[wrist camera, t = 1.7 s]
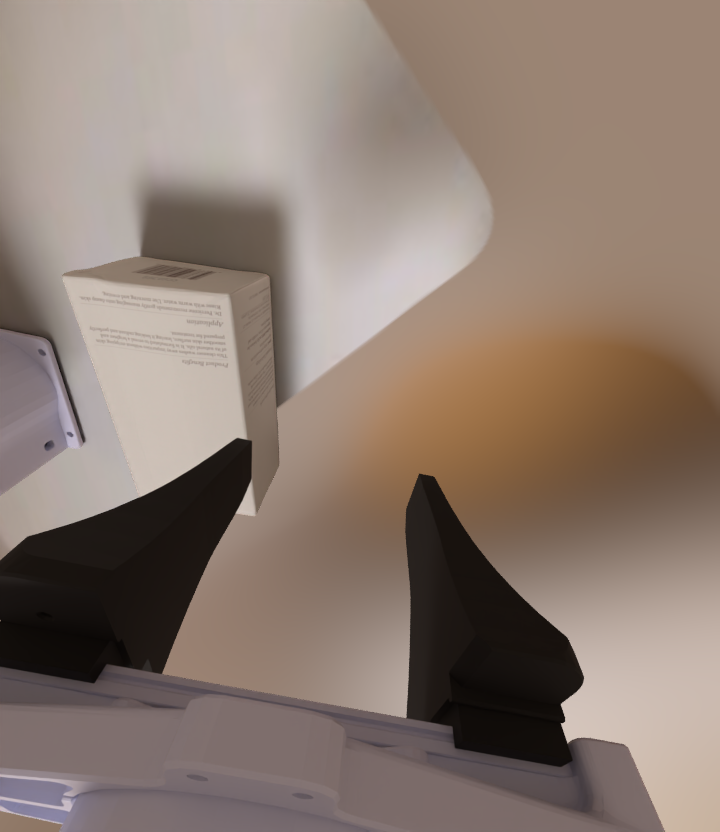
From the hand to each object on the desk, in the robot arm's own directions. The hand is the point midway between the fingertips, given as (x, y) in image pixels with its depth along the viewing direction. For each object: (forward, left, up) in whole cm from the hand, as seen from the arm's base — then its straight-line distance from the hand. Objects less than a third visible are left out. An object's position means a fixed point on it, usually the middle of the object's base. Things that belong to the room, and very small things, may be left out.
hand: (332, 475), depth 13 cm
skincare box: (+5, +10, -7) cm, 13 cm away
